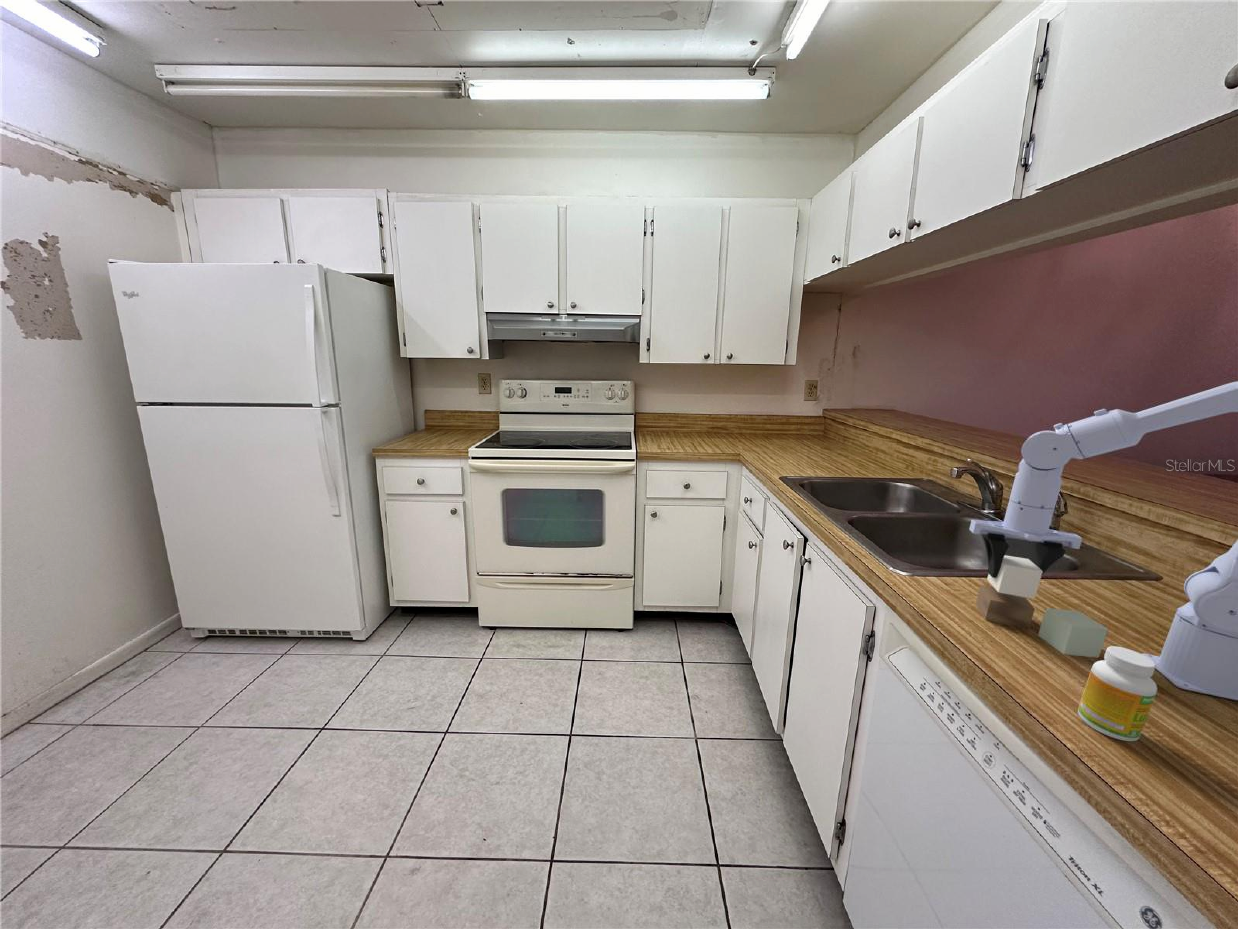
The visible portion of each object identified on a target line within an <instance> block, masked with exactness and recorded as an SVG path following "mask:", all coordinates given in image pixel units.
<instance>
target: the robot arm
mask: <svg viewBox="0 0 1238 929" xmlns="http://www.w3.org/2000/svg"><path fill="white" fill-rule="evenodd" d="M1228 413H1238V380H1237V381H1232V382H1229V383H1225V384H1221V385H1220V386H1217V387H1214V388H1211V389H1207V390H1204V391H1203V390H1202V391H1200V392H1197V393H1195V394H1191V395H1188V396H1185V397H1181V398H1179V399H1178V398H1177V399H1175V400H1172V401H1170V402H1167V403H1163V404H1160V405H1157V406H1154V407H1150V408H1147V409H1144V410H1141V411H1138V412H1130V411H1126V410H1124V409H1123V410H1122V409H1118V408H1115V409H1112V410H1109V411H1107V409H1106V408H1102V409H1098V410H1095V411H1094V412H1093V414H1094V415H1092V416H1090V417H1085V418H1082V419H1080V420H1076V421H1074V422H1069V423H1066V424H1063V423H1062V422H1059V423H1056V424H1054V425H1053V429H1054V430H1041V431H1037V432H1035V433H1033V434H1032V435H1030V436H1029V437H1028V438H1027V439H1026V440H1025V441H1024V443H1023V444H1022V446H1021V456H1022V458H1021V461H1020V462H1019V463H1018V471H1017V472H1016V473H1015V477H1014V481H1013V484H1012V488H1011V492H1010V496H1009V500H1008V504H1007V507H1006V512H1005V515H1004V519H1003V521H994V520H993V521H991V520H978V519H971V522H970V525H969V529H968V530H969V531H970V532H971V533H972V534H975V535H981V538H982V541H983V542H984V546H985V550H986V554H987V556H986V557H987V564H988V568H987V569H988V572H987V573H988V574H990V576H991V577H993V578H997V576H998V573H999V571H1000V568H1001V564H1002V560H1003V558H1004V555H1006V553H1007V551H1008V549H1009V548H1010V545H1009V544H1008V543H1007V539H1006V538H1008V539H1016V540H1022V541H1028V542H1031V544H1032V546H1031V555H1030V559H1029V560H1030V561H1031V562H1033V563H1034V564H1035V565H1036V566H1037V567H1038V568H1040V569H1041V570H1042V571H1043V572H1042V575H1041V577H1043V575H1045V573H1046V571H1047V570H1048V569H1049V568H1050V567H1051V566H1052V565H1053V564H1055V563H1056V562H1057V561H1058V560H1060V559H1062V558H1063V557H1064V555H1065V553H1066V550H1065V548H1063V546H1064V547H1069V548H1070V549H1076V550H1080V548H1081V545H1082V541H1083V538H1082V537H1081V536H1079V535H1078V534H1076V533H1069V532H1065V531H1061V530H1060V531H1059V530H1056V529H1055V530H1054V529H1050V526H1051V522H1052V519H1053V516H1054V511H1055V508H1056V506H1057V500H1058V498H1059V494H1060V490H1061V487H1062V483H1063V479H1062V478H1061V477H1062V475H1063V471H1064V468H1065V465H1066V464H1067V463H1069V461H1070V460H1071V459H1077V460H1084V459H1086V458H1091V457H1094V456H1099V455H1102V454H1107V453H1110V452H1114V451H1119V450H1122V449H1126V448H1130V447H1133V446H1137V445H1138V444H1139V442H1140V441H1141V439H1142V438H1143V436H1144V435H1145V434H1147V433H1150V432H1151V433H1152V432H1154V431H1155V432H1156V431H1159V430H1162V429H1163V430H1164V429H1166V428H1170V427H1174V426H1175V427H1176V426H1179V425H1183V424H1188V423H1190V422H1195V421H1199V420H1203V419H1208V418H1211V417H1215V416H1220V415H1224V414H1228ZM1183 590H1184V593H1185V596H1187V598H1188V600H1189V602H1186V604H1184V605H1183V606H1180V607H1178V608H1177V610H1176V612H1175V613H1174V618H1173V620H1172V622H1171V626H1170V628H1169V631H1168V633H1167V636H1166V639H1165V642H1164V644H1163V647H1162V650H1161V652H1160V655H1153V654H1149V653H1141V654H1142V655H1144V656H1146V657H1148V658H1149V659H1151V660H1152V661H1153V662H1154V663H1155V665H1156V667H1155V669H1156V670H1157V671H1158V672H1159V673H1160V674H1161V675H1163V676H1164V677H1165V678H1166V679H1168V680H1169V681H1170V682H1171V683H1172V684H1173V685H1175V686H1176V687H1177V688H1178V689H1179V688H1180V689H1183V690H1188V691H1190V692H1191V691H1193V692H1197V693H1200V694H1204V695H1205V694H1206V695H1211V696H1214V697H1215V696H1216V697H1218V698H1219V697H1220V698H1223V699H1224V698H1225V699H1229V700H1233V701H1238V539H1237V540H1236V541H1235V542H1234V544H1233V545H1232V547H1230V549H1229V550H1228V551H1226V553H1224V554H1221V555H1220V556H1218V557H1216V558H1214V560H1213V561H1212V562H1211V564H1209V565H1208V566H1207V567H1205V568H1203V569H1202V570H1198V571H1196V572H1194V573H1192V574H1191V575H1189V576H1188V577H1187V578H1186V579H1185V581H1184V585H1183Z"/></svg>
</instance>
